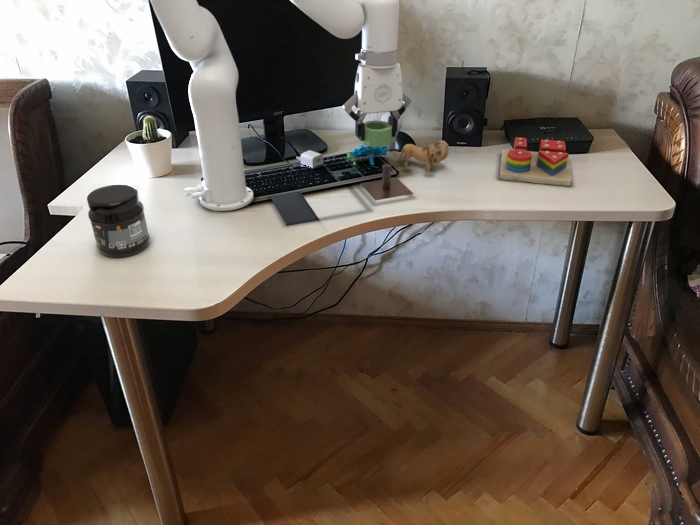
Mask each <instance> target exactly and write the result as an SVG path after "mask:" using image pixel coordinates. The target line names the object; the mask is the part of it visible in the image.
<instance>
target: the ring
mask: <svg viewBox="0 0 700 525" xmlns="http://www.w3.org/2000/svg"><path fill="white" fill-rule="evenodd" d="M363 123H364V124H365V140H364V141H361V140H359V141H360V143H361V145H363V146H365V147H368V146H369V147H384V146H388V145H390V144H391V141H392V125H391V124H390V123H388V122H384V121H380V120H375V119H374V120H367V121H363Z"/></svg>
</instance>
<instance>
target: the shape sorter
mask: <svg viewBox="0 0 700 525" xmlns="http://www.w3.org/2000/svg"><path fill="white" fill-rule="evenodd" d="M527 141H528V139H527V137H517V136H516V137H514V142H513V144H514V145H513V149H507V148H503V149H502V150H501V159H500V170H499V180H502V181H503V180H504V181H512V182H523V183H533V184H542V185H543V184H545V185H554V186H563V187H564V186H566V187H571V186H572V182H573V176H572V168H571V162H570V155H569V152H566V151H567V149H566V148H567V146H566V142H565V141H564V140H555V139H554V140H553V139H541V140H540V143H539V149H538V151H531V150H527V149H528V148H527V147H528V142H527Z"/></svg>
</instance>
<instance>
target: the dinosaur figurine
mask: <svg viewBox="0 0 700 525" xmlns="http://www.w3.org/2000/svg"><path fill="white" fill-rule="evenodd" d="M389 151H390V150H389V149H388V147H387V146H384V147H369V146H366V145H363V144H361V145H359V146H358V148H353V150H352V152H347V153H346V156H347V157H346V158H347V159H348V160H349V159H350V163H352V165H353V166H354V165H356V166H357V163H359V162H365V161H369V164H370V165H374V166H375V162H374V159H375V157H379V158H381V156H386V155H387V152H389ZM360 157H361V158H360Z"/></svg>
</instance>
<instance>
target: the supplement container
mask: <svg viewBox="0 0 700 525" xmlns="http://www.w3.org/2000/svg"><path fill="white" fill-rule="evenodd" d="M86 201H87V205H88V208H89V209H88V213H87V216H88V219H89V222H90V224H91V228H92V231H93V235H94V240H95V244H96V248H97V250H98V251H99V252H100V254H102V255H104V256H107V257H112V258H123V257H128V256H132V255H135V254H137V253H139V252H141V251H142V250H144V249H145V248H147V246H148V245H149V242H150V241H151V240H150V239H151V238H150V233H149V228H148V224H147V219H146V215H145V207H144V204H143V202H141V200H140V196H139V192H138V189H137V188H136V187H134V186H133V185H129V184H123V183H115V184H107V185H104V186H100V187H98V188H96V189H94V190H92V191H91V192H90V193H88V195H87V197H86Z"/></svg>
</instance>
